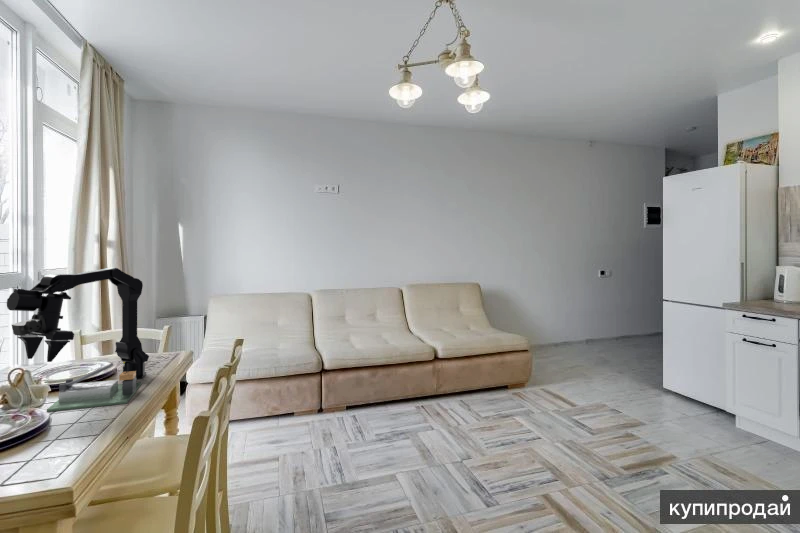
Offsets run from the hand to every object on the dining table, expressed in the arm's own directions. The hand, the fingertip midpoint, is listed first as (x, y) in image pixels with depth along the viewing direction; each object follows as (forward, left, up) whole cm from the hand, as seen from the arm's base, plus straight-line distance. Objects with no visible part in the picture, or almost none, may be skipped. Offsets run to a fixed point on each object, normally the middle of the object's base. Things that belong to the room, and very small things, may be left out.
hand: (39, 360), depth 127 cm
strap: (-12, -2, -7) cm, 15 cm away
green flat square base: (-15, -2, -15) cm, 21 cm away
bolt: (-24, -2, -9) cm, 25 cm away
